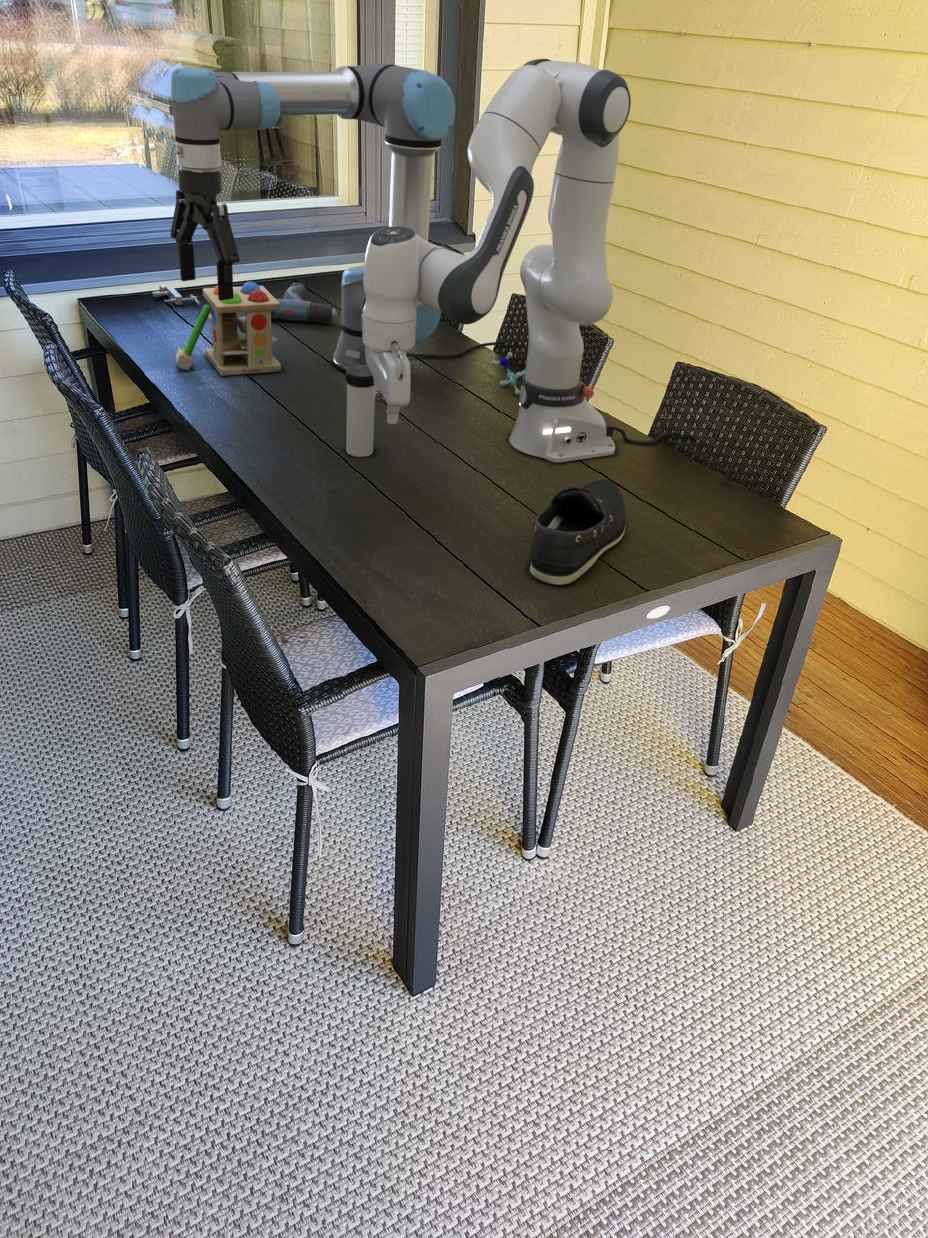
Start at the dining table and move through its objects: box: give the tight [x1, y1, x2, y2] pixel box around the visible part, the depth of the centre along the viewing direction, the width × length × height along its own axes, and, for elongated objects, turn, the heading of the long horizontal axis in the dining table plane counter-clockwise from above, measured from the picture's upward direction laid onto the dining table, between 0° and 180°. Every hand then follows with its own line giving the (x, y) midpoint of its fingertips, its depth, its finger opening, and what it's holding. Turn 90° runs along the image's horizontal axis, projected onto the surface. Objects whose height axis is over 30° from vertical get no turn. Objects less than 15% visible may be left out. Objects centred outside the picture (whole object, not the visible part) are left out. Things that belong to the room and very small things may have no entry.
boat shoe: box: [529, 479, 627, 586], centre depth 172 cm, size 13×33×10 cm, turn 147°
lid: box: [345, 366, 374, 387], centre depth 189 cm, size 6×6×2 cm
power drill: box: [271, 282, 338, 322], centre depth 265 cm, size 5×19×20 cm
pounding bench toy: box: [174, 281, 282, 377], centre depth 225 cm, size 23×14×18 cm, turn 116°
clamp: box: [152, 284, 202, 306], centre depth 265 cm, size 15×2×10 cm
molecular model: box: [491, 351, 527, 396], centre depth 231 cm, size 12×10×10 cm
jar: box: [345, 382, 376, 458], centre depth 193 cm, size 5×5×16 cm
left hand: (206, 289), depth 186 cm, fingers open, 13 cm apart
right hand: (385, 411), depth 170 cm, fingers open, 8 cm apart
